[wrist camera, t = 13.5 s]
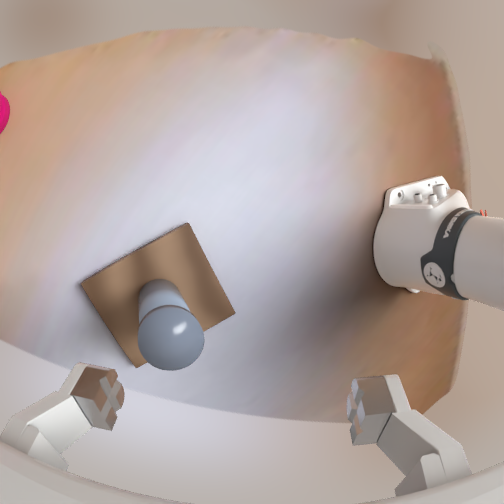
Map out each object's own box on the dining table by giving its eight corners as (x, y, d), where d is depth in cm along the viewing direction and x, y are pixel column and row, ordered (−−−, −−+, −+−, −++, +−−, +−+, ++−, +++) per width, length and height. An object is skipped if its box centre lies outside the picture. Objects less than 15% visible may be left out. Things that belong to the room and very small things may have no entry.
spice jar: (168, 268, 34) (183, 296, 24) (191, 308, 36) (215, 349, 25) (127, 292, 33) (124, 330, 22) (152, 330, 34) (161, 380, 24)
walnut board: (187, 222, 36) (189, 223, 34) (231, 309, 39) (235, 313, 38) (83, 280, 32) (80, 283, 31) (136, 362, 36) (136, 368, 34)
